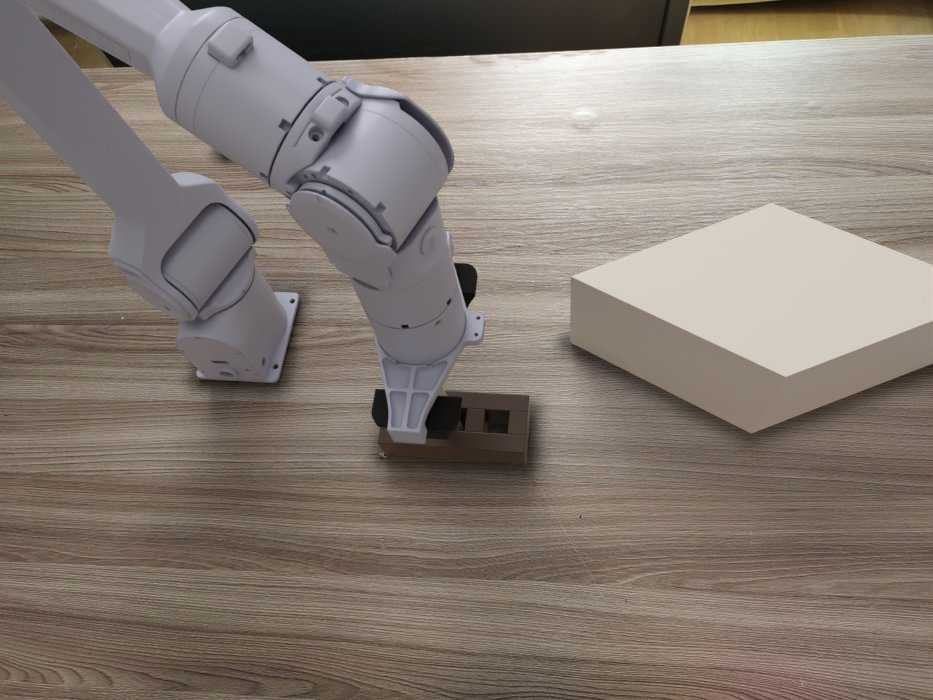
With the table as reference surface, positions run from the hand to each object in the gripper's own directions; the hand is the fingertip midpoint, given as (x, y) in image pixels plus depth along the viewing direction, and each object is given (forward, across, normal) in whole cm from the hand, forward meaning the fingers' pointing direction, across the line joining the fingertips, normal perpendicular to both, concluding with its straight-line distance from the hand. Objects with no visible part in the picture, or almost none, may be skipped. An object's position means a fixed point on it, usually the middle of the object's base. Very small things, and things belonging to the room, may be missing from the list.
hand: (442, 385), depth 54 cm
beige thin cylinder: (+9, 0, 0) cm, 9 cm away
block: (+10, +9, -24) cm, 27 cm away
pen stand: (+9, 0, 0) cm, 9 cm away
